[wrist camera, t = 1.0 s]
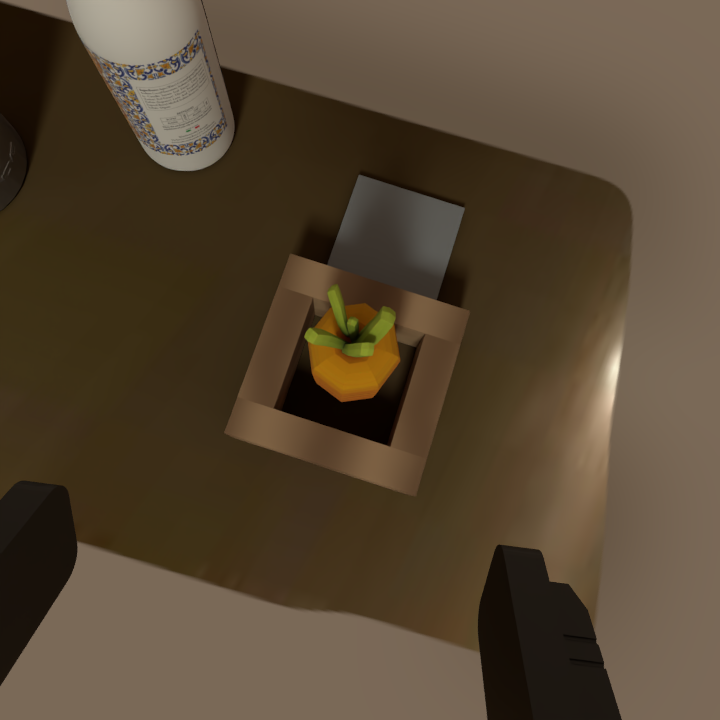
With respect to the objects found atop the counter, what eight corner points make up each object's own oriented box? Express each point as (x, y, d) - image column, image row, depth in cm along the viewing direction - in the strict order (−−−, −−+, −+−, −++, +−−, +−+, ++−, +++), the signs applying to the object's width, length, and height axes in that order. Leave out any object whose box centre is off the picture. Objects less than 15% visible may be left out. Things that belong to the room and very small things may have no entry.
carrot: (304, 407, 40) (286, 363, 25) (323, 337, 41) (316, 257, 26) (375, 425, 40) (399, 392, 25) (393, 355, 41) (425, 284, 26)
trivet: (323, 277, 42) (323, 274, 41) (358, 178, 44) (359, 174, 43) (432, 312, 42) (433, 309, 41) (463, 211, 43) (464, 208, 43)
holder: (235, 438, 39) (224, 433, 36) (294, 274, 42) (290, 253, 38) (407, 494, 39) (415, 496, 35) (457, 327, 42) (470, 311, 38)
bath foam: (145, 87, 44) (-4, -225, 25) (239, 92, 45) (164, -213, 25) (135, 172, 43) (-31, -87, 23) (232, 177, 43) (147, -77, 24)
